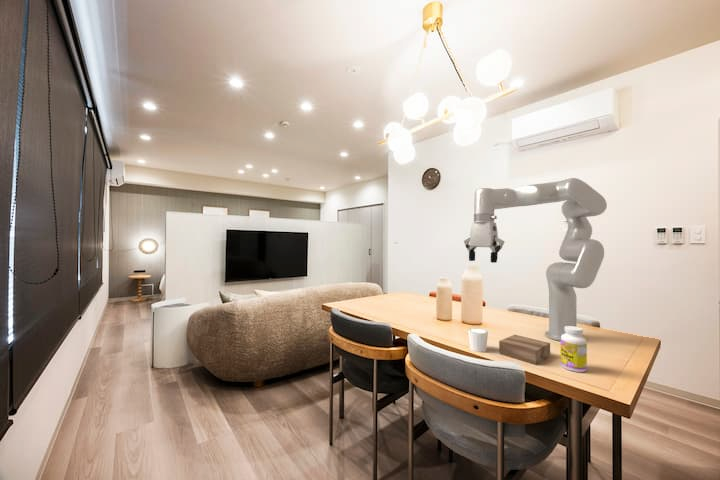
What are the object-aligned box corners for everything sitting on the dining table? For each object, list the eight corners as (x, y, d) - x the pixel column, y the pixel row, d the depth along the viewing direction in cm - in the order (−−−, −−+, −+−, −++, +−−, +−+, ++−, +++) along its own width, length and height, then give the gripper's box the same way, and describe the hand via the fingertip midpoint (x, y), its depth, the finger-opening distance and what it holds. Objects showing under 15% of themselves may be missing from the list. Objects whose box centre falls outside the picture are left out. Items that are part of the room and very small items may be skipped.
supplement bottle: (555, 364, 95) (555, 325, 95) (574, 363, 96) (574, 324, 96) (572, 373, 89) (572, 331, 89) (592, 372, 89) (592, 330, 89)
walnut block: (514, 347, 111) (514, 334, 111) (550, 357, 102) (550, 343, 102) (499, 354, 104) (499, 340, 104) (535, 366, 95) (535, 350, 95)
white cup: (484, 346, 112) (484, 328, 112) (490, 353, 105) (490, 333, 105) (466, 345, 112) (466, 327, 112) (471, 352, 105) (471, 333, 106)
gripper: (509, 218, 113) (508, 263, 112) (470, 221, 127) (469, 260, 127) (498, 217, 108) (497, 263, 108) (459, 219, 123) (458, 260, 123)
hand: (482, 261), depth 117 cm, fingers open, 9 cm apart
